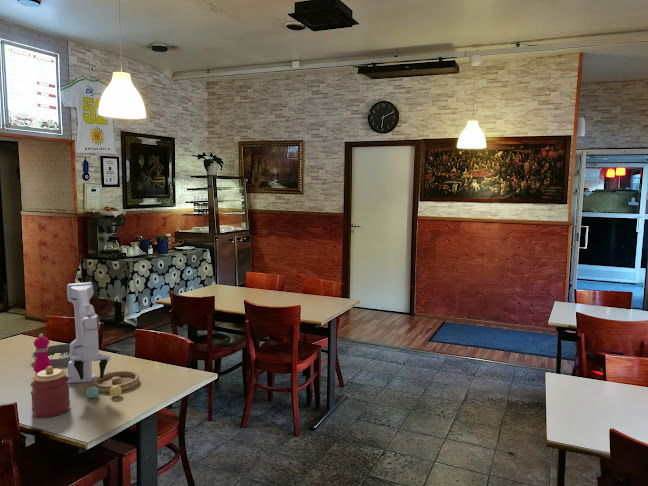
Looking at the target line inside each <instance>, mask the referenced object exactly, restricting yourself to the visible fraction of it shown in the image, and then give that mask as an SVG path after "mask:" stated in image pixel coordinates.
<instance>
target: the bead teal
mask: <svg viewBox="0 0 648 486" xmlns="http://www.w3.org/2000/svg"><path fill="white" fill-rule="evenodd" d="M85 393H86V397H88V398H90V399H95V398H97V396H98V395H99V393H100V392H99V390H98V388H97V387H94V386H93V385H92V386H89V387H88V388H87V389H86V391H85Z"/></svg>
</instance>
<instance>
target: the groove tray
mask: <svg viewBox="0 0 648 486" xmlns="http://www.w3.org/2000/svg"><path fill="white" fill-rule="evenodd" d="M139 382H140V375H139V373H138V372H136V371H133V370H114V371H108V372H106V373H105V372H104V377H103V378H102V379H100V374H99V375H97V376H96V377H94V378H93V379H92V387H93V386H94V387H97V388H98V390H99V393H104V394H107V393H108V394H110V389H111V387H113V386H115V385H118V386H120V387H121V389H122V392H124V391H128V390H131V389H134V387H136V386H137V385H138V384H139Z"/></svg>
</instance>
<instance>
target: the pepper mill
mask: <svg viewBox="0 0 648 486" xmlns="http://www.w3.org/2000/svg"><path fill="white" fill-rule="evenodd" d="M49 344H50V340H49V338H48V337H46V336H44V334H43V333H40V334H39V335H38V337H37V338H35V339H34V341H33V345H34V347H35V351H36V352H37V359H36V361H35V360H34V364H33V371H34V372H35V374H34V375H36V374H37V373H38V372H40V371H43V370H46V368H47V367H48V366H52V364H51V361H50V360H49V358H48V355H47V350H48V346H50V345H49ZM52 367H53V366H52Z"/></svg>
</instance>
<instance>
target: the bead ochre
mask: <svg viewBox="0 0 648 486" xmlns="http://www.w3.org/2000/svg"><path fill="white" fill-rule="evenodd" d="M122 392H123V391H122V389H121V387H120V386H118V385H115V386H113V387H111V389H110V393H109V395H110V396H111V397H114V398H117V397H119V396H121V394H122Z"/></svg>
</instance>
